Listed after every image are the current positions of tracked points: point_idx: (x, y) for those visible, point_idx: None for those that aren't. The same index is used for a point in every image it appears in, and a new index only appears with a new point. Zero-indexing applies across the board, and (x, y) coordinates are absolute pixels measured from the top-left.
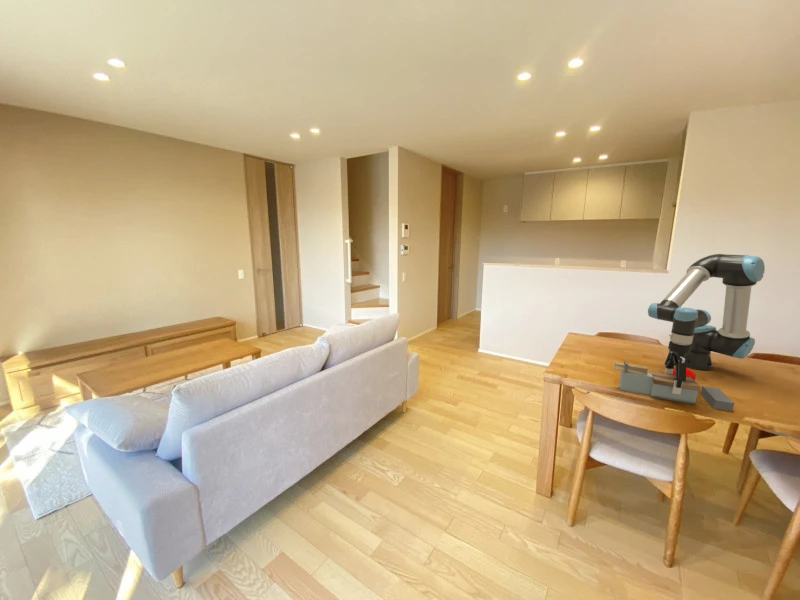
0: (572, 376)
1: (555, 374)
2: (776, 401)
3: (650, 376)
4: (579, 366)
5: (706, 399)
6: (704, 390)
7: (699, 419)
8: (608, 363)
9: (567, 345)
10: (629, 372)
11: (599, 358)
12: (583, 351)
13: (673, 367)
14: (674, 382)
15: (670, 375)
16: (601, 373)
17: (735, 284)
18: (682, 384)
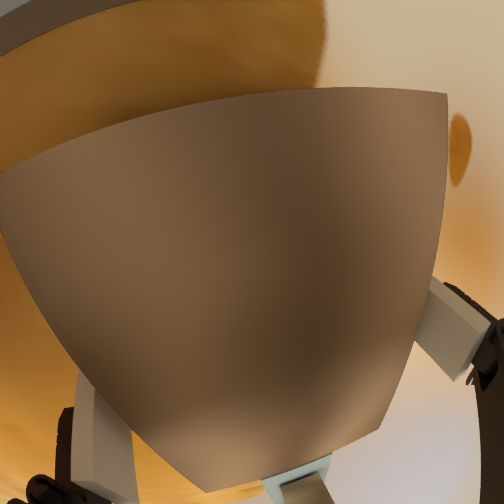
0: (247, 484)
1: (260, 492)
2: None
3: (330, 459)
4: (141, 496)
5: (115, 2)
6: (21, 14)
7: (450, 132)
8: (16, 459)
9: (11, 496)
10: None
11: (6, 468)
12: (5, 483)
13: (50, 499)
14: (439, 354)
15: (185, 427)
16: (145, 473)
17: None
18: (424, 290)
